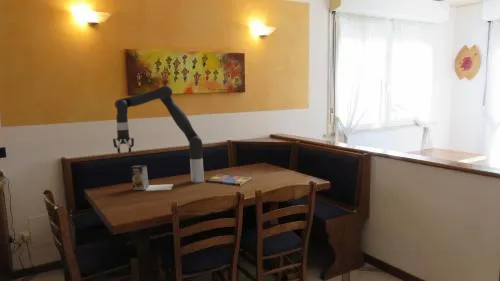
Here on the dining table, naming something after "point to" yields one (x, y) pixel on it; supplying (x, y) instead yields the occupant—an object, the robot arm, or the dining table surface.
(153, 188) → the mat
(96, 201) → the dining table surface
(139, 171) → the coffee box
